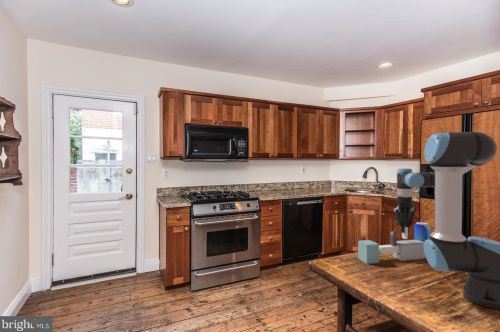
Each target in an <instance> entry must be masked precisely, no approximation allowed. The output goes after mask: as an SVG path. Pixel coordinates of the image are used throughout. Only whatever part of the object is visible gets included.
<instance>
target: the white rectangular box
mask: <svg viewBox="0 0 500 332" xmlns="http://www.w3.org/2000/svg"><path fill="white" fill-rule="evenodd" d="M397 244H398V245H400V253H392V257H393V258H395V259H398V260H399V261H411V260H412V261H414V260H424V259H426V256H425V253H424V242H422V241H419V240H416V239H415V240H414V239H403V240H397Z"/></svg>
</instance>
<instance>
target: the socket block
mask: <svg viewBox="0 0 500 332" xmlns="http://www.w3.org/2000/svg"><path fill="white" fill-rule="evenodd" d="M357 244H358V245H357V246H358V247H357V249H358V250H357V251H358V253H357V259H358V260H360V261H362V262H363V263H364V264H366V265H369V264H379V263H380V253H379V245H380V244H379V243H377V242H375V241H373V240H370V239H366V240H364V239H362V240H358V241H357Z"/></svg>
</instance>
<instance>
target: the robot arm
mask: <svg viewBox="0 0 500 332" xmlns="http://www.w3.org/2000/svg"><path fill="white" fill-rule="evenodd" d="M497 151H498V146H497V143H496V141H495V140H494V138H493V137H491V136H490V135H488V134H487V133H485V132H481V131H480V132H479V131H459V132H458V131H457V132H455V131H454V132H438V133H434V134H431V136H429V138H428V139H427V141H426V143H425V147H424V153H423V155H424V160H425V161H426V163H428V164H430V168H431V169H432V170H433V171H434V172H413V169H412V168H405V167H404V168H397V170H396V195H397V196H396V203H397V205H396V207H395V208H393V209H392V211H393V213H394V215H395V219H396V225H397V226H399V227H400V232H401V238H402V239H403V240H409V231H410V230H409V229H410V228H411V226H413V223H414V218H415V213H416V212H417V208H415V207H413V199H414V198H413V189H414V188H415V189H416V188H434V231H432V232H431V234H430V240H429V239H428V240H425V242H424V253H425V259H426V260H427V261H426V262H428V264H429V266H430V267H431V268H432V269H433V270H434V271H435V270H436V271H439V272H440V271H441V272H445V273H447V272H452V273H454V272H455V273H467V278H466V280H465V282H464V285H463V287H462V296H463V297H464V298H465V299H466V300H468V301H470V302H472V303H474V304H476V305H480V306H481V307H485V308H489V309H494V310H500V242H499V241H496V240H492V239H488V238H484V237H479V236H468V238H467V237H465V235H463V234H462V232H463V231H462V225H463V223H462V222H463V221H462V220H463V175H464V174H466V173H467V172H470V171H471V170H473V169H474V168H476V167H481V166H484V165H486V164H488V163H489V162H491V161H492V160H493V159H494V158H495V157H496V155H497Z"/></svg>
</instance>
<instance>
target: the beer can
mask: <svg viewBox="0 0 500 332" xmlns="http://www.w3.org/2000/svg"><path fill="white" fill-rule="evenodd" d="M413 229H414V230H413V235H414V237H413V238H414V239H413V240H415V239H416V240H419V241H422V242H425V240H428V239H429V240H430V234H431V233H432V232H431V231H432V229H431V226H430V225H429V223H428V222H424V221H423V222H422V221H417V222H415V225H414V226H413Z"/></svg>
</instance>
